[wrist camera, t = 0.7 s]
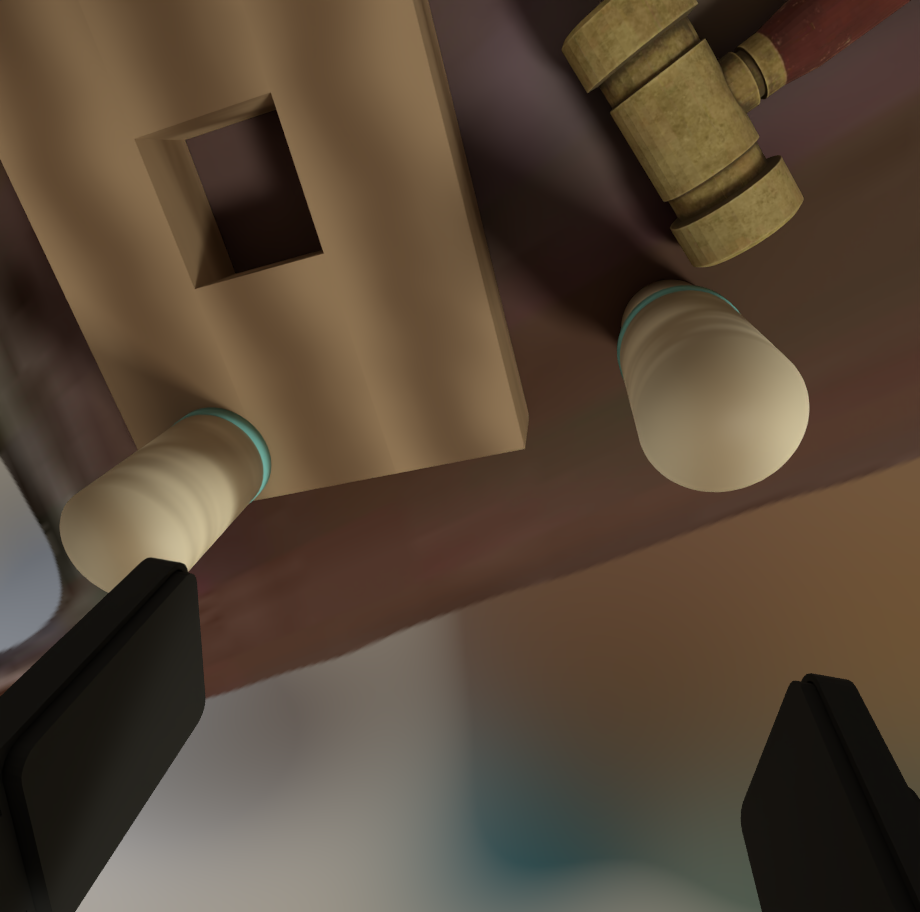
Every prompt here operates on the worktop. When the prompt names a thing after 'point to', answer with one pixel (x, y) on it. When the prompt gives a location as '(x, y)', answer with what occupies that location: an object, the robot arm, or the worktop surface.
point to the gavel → (710, 107)
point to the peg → (707, 389)
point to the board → (264, 288)
